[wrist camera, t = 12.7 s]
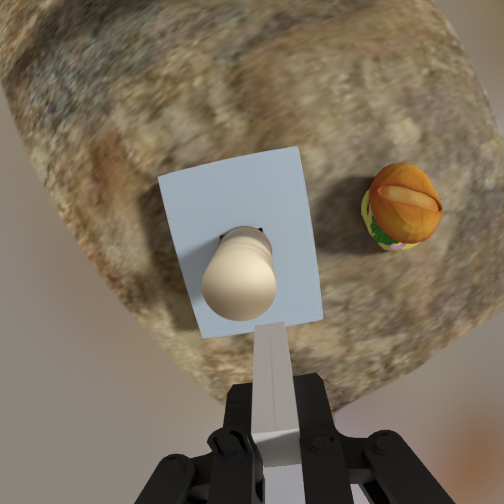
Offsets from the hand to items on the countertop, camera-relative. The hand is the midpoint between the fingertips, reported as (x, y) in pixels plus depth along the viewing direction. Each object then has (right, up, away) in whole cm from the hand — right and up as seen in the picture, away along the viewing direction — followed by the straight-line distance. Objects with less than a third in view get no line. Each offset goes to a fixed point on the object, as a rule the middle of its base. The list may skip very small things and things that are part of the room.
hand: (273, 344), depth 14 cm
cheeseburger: (+17, +11, +19) cm, 28 cm away
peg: (-2, +6, +20) cm, 21 cm away
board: (-2, +6, +21) cm, 22 cm away
